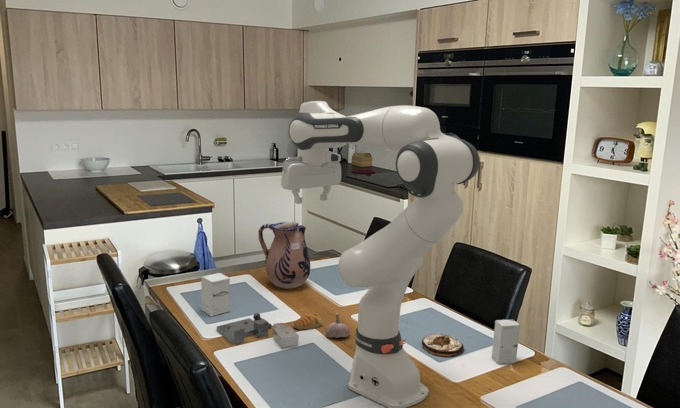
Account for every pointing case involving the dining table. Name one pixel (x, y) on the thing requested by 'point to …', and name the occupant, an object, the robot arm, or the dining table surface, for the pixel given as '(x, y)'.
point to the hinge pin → (257, 317)
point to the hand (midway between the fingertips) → (311, 201)
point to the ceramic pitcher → (286, 255)
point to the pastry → (308, 322)
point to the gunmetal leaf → (243, 330)
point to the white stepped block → (285, 336)
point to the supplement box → (215, 294)
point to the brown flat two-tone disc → (442, 345)
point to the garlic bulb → (337, 329)
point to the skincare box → (505, 341)
